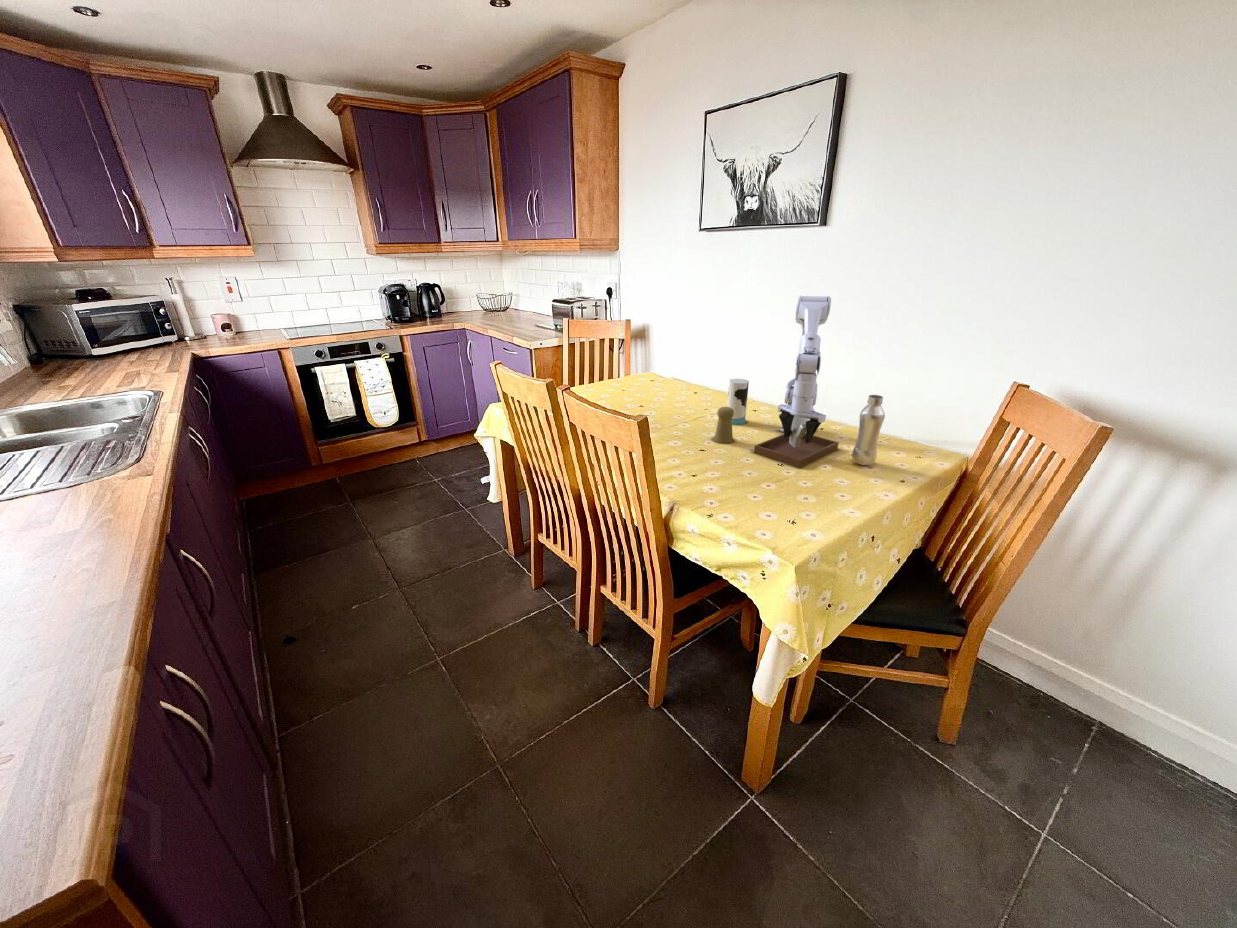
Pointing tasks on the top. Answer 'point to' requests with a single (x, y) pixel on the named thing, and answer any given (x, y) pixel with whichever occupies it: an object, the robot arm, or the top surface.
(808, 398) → the robot arm
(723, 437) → the pawn
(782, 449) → the tray
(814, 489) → the top surface
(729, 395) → the cup
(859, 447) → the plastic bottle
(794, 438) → the lighter
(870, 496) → the top surface
